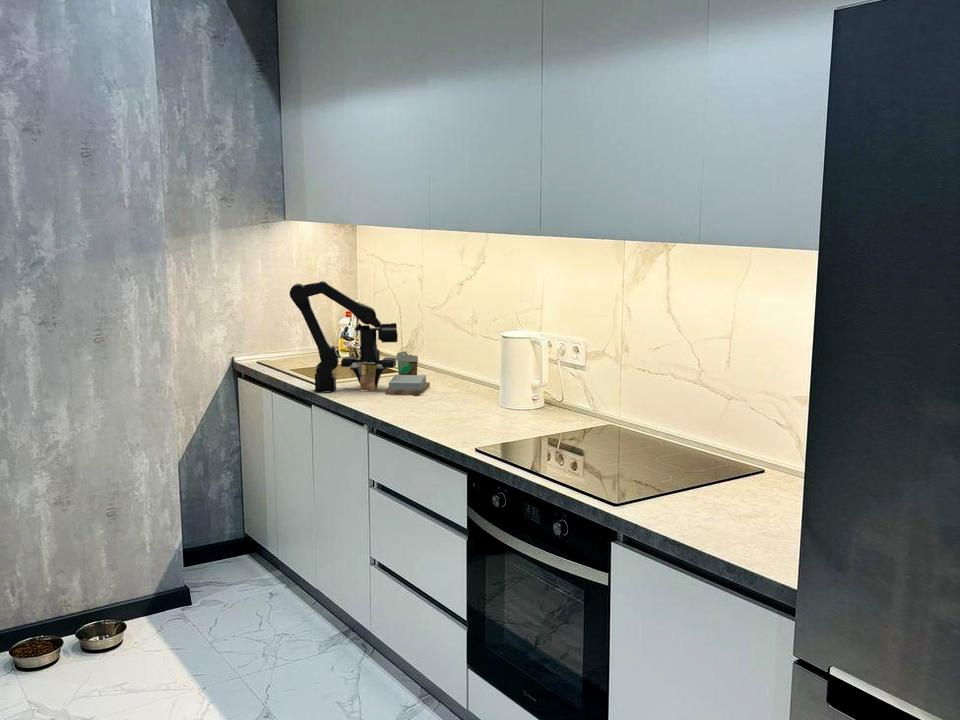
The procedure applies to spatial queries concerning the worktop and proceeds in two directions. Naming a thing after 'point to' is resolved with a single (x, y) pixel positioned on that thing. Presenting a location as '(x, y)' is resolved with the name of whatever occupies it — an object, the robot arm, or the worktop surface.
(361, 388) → the terracotta block
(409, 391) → the walnut slab
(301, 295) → the robot arm
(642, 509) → the worktop surface
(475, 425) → the worktop surface
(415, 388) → the slate grey slab
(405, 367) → the food container
